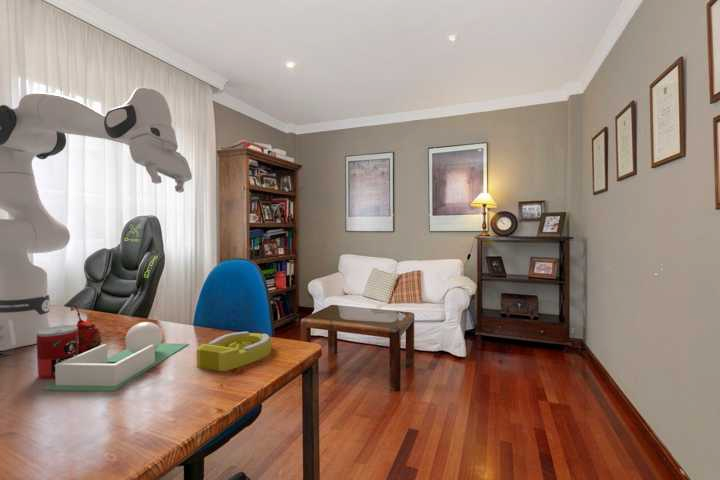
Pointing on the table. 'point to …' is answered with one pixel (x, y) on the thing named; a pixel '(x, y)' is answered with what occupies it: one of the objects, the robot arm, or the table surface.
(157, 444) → the table surface
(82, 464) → the table surface
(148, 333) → the ball
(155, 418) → the table surface
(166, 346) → the green mat
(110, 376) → the white chevron barrier
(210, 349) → the olive green tray
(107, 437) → the table surface
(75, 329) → the canned food
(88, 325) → the red clay folk toy
